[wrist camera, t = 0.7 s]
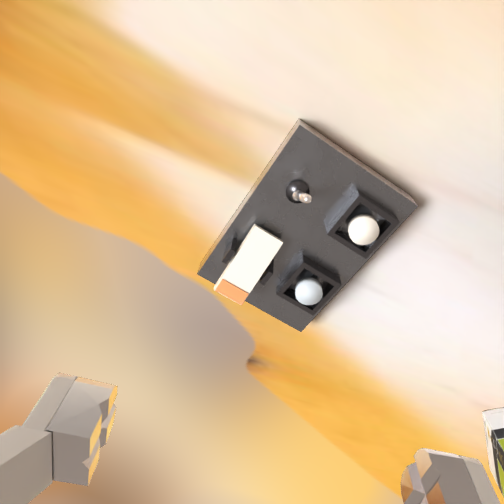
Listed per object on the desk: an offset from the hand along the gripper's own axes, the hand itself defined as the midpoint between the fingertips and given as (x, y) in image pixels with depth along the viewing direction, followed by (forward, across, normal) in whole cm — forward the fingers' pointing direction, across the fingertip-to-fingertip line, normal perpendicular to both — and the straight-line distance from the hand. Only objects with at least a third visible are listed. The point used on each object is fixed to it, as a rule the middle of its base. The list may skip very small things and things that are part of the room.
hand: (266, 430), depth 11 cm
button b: (+35, -8, +17) cm, 40 cm away
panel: (+39, -6, +12) cm, 42 cm away
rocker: (+36, 0, +16) cm, 39 cm away
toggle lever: (+35, -4, +6) cm, 36 cm away
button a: (+35, -12, +8) cm, 38 cm away
